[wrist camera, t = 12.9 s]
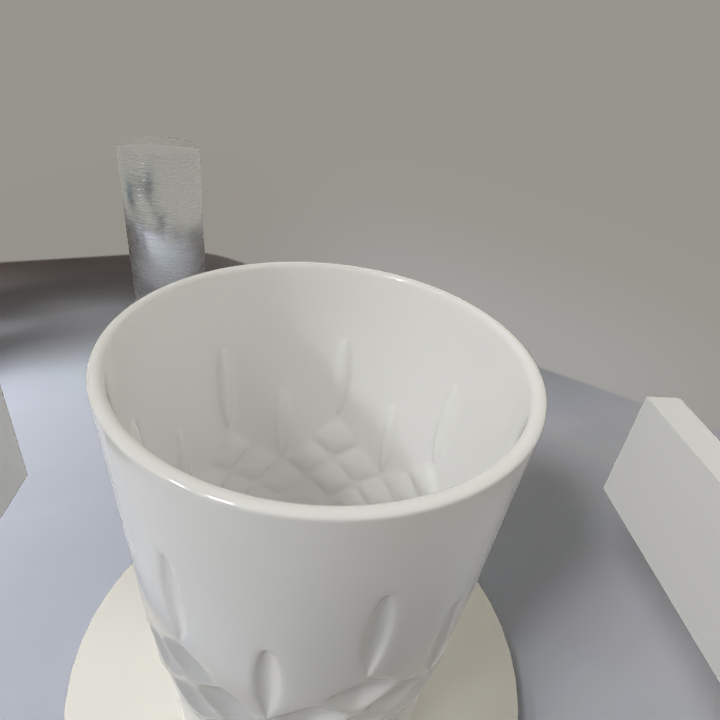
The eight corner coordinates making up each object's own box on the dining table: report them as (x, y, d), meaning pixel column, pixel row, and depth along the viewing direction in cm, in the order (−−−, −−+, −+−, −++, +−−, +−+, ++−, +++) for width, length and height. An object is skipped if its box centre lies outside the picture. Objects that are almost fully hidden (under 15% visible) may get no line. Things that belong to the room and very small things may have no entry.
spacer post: (121, 309, 32) (97, 144, 27) (165, 284, 35) (150, 133, 30) (180, 326, 31) (166, 159, 26) (220, 299, 34) (214, 146, 29)
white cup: (317, 501, 20) (340, 238, 15) (497, 666, 16) (626, 376, 10) (97, 636, 15) (11, 315, 10) (269, 937, 11) (286, 649, 5)
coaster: (-57, 797, 12) (-65, 786, 12) (230, 462, 22) (229, 451, 22) (468, 1118, 9) (476, 1113, 9) (531, 569, 19) (536, 558, 19)
